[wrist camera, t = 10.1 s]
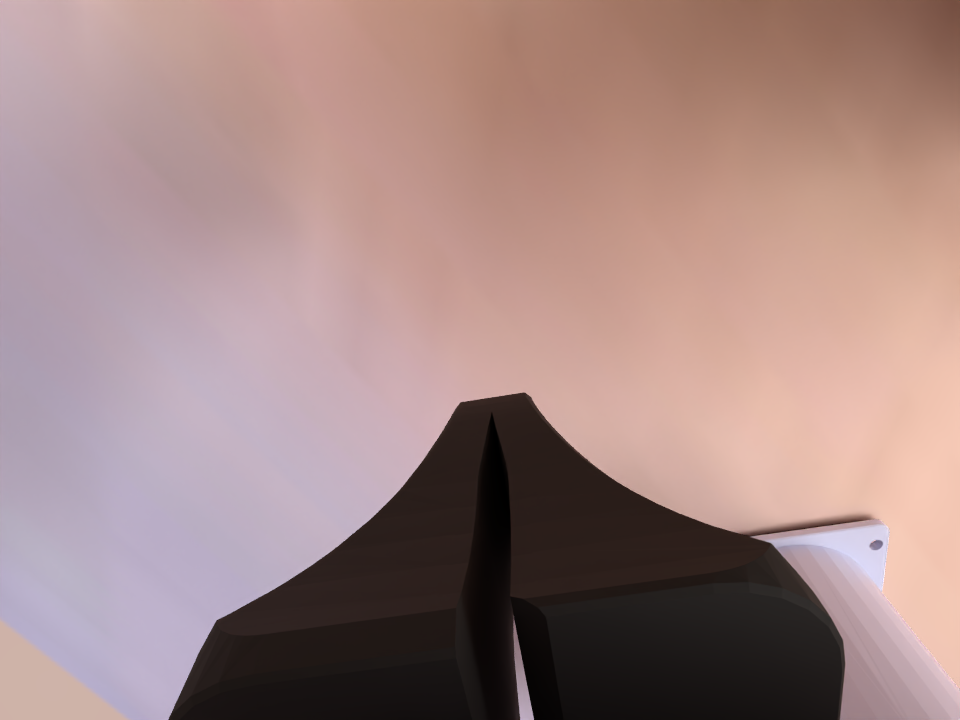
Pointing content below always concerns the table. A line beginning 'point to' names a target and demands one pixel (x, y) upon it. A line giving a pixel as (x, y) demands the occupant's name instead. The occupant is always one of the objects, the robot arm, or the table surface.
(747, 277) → the table surface
